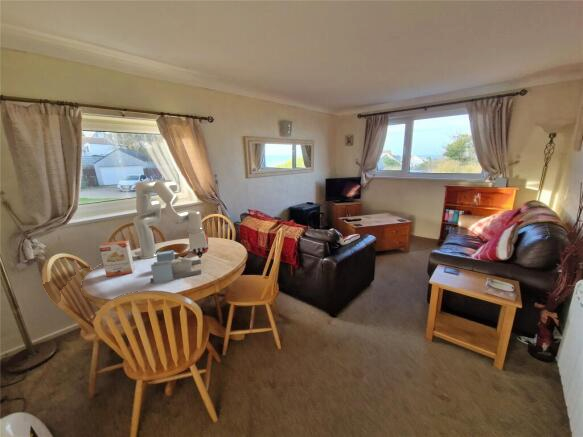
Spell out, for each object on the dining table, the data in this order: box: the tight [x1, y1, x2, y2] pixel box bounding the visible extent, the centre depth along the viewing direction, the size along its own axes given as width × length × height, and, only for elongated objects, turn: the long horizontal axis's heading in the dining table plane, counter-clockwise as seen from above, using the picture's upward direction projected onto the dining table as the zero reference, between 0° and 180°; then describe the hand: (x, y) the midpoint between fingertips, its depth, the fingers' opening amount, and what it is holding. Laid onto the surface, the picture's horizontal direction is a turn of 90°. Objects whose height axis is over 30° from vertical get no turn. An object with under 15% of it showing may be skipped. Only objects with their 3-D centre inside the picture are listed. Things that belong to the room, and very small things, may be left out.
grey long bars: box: [149, 258, 202, 284], centre depth 150 cm, size 28×17×2 cm, turn 112°
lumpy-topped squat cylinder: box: [169, 256, 193, 274], centre depth 149 cm, size 10×13×9 cm
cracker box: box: [98, 240, 135, 278], centre depth 147 cm, size 14×6×21 cm, turn 110°
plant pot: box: [192, 234, 209, 254], centre depth 180 cm, size 13×13×12 cm
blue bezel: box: [150, 249, 176, 284], centre depth 146 cm, size 10×21×12 cm, turn 22°
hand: (200, 257), depth 153 cm, fingers closed
